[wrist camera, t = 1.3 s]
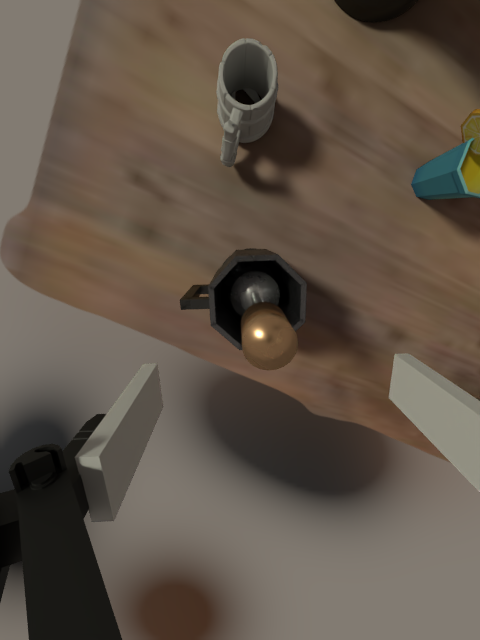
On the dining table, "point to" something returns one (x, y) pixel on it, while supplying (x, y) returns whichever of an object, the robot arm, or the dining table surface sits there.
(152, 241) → the dining table surface
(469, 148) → the cup
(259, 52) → the mug
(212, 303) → the press body
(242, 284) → the plunger
